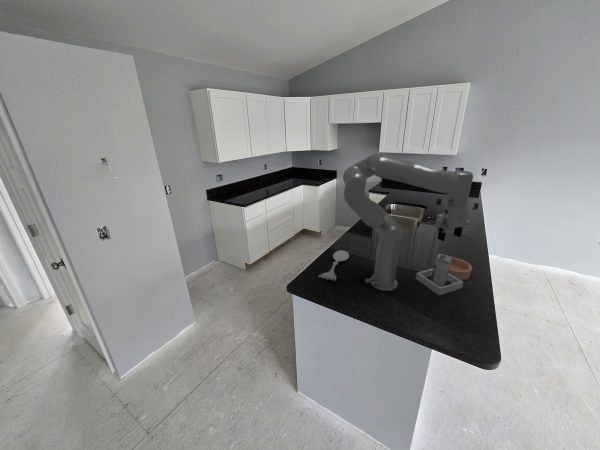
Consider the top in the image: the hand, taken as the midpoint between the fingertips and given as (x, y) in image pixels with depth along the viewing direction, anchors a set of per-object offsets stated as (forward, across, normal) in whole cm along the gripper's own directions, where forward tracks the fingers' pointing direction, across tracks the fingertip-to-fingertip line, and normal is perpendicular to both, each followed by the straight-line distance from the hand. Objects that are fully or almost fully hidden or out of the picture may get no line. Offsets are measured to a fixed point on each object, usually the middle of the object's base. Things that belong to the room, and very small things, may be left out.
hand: (448, 237), depth 112 cm
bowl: (+24, +15, +5) cm, 29 cm away
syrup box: (+24, 0, 0) cm, 24 cm away
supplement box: (+25, +62, +45) cm, 80 cm away
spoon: (+24, -39, +32) cm, 56 cm away
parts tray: (+24, 0, 0) cm, 24 cm away
